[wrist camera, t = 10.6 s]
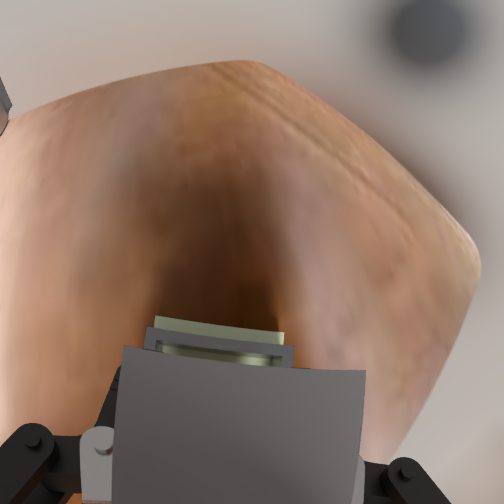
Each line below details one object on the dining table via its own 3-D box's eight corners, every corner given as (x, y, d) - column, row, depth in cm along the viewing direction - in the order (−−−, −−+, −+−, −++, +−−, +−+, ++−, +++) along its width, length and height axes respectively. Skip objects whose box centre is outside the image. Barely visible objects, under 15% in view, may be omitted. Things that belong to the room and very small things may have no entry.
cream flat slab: (158, 318, 19) (155, 315, 18) (279, 335, 20) (284, 332, 19) (141, 464, 15) (138, 469, 14) (265, 477, 16) (269, 483, 15)
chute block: (173, 365, 14) (123, 345, 5) (264, 377, 14) (365, 370, 5) (164, 451, 12) (113, 551, 3) (256, 460, 13) (338, 560, 4)
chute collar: (155, 334, 18) (146, 326, 15) (280, 350, 18) (294, 345, 16) (141, 453, 14) (131, 467, 12) (269, 467, 15) (281, 482, 13)
